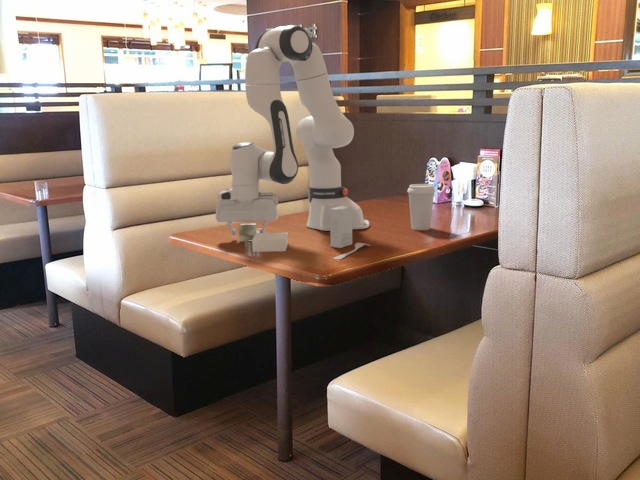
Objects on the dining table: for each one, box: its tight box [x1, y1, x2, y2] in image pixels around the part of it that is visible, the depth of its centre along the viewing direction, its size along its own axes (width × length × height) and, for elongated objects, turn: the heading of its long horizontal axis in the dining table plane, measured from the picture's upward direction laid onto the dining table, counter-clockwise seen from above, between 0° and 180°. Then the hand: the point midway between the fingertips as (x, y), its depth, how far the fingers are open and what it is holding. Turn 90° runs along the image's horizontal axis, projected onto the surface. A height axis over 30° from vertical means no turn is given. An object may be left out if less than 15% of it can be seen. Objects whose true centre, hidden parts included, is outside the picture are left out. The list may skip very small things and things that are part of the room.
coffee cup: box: [406, 183, 436, 231], centre depth 218 cm, size 10×10×15 cm
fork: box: [333, 242, 372, 260], centre depth 189 cm, size 3×21×3 cm, turn 148°
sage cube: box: [238, 222, 258, 242], centre depth 209 cm, size 5×5×5 cm
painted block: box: [251, 232, 289, 253], centre depth 197 cm, size 10×10×4 cm
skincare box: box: [329, 206, 353, 249], centre depth 196 cm, size 6×4×12 cm
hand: (247, 234), depth 209 cm, fingers open, 8 cm apart
